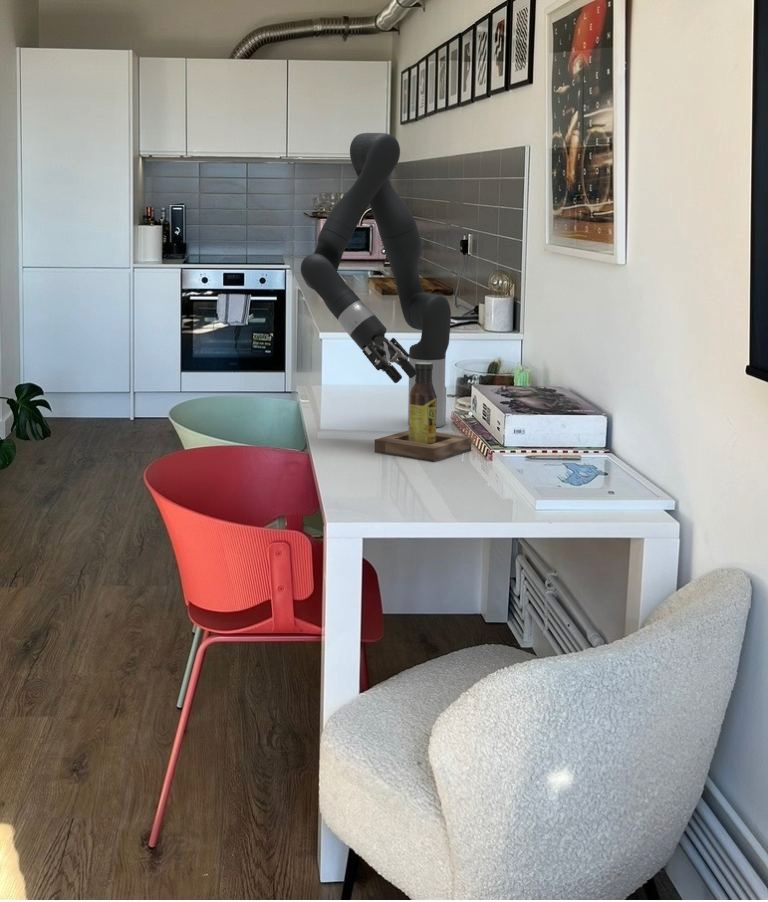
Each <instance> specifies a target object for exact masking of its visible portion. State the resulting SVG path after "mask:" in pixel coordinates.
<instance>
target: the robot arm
mask: <svg viewBox="0 0 768 902" xmlns="http://www.w3.org/2000/svg"><path fill="white" fill-rule="evenodd" d="M398 141H399V140H397V139H396V137H395V136H393V135H391V134H389V133H386V132H384V133H383V132H362V133H359V134H357V135H356V136H354V138H353V139H352V140H351V143H350V146H349V157H350V160H351V161H350V162H351V164H352V168H353V169H354V171H355V173H356V176H357V179H356V180H355V182H354V183H353V185H351V187H350V188H349V189H348V190H347V192H346V193H345V194H344V195H343V196H342V197H341V198H340V199H339V200H338V202H336V203H335V205H334V206H333V208H332V209H331V210H330V212H329V214H328V215H327V217H326V219H325V221H324V224H323V226H322V228H321V230H320V231H319V234H318V237H317V244H316V248H315V250H314V252H313V253H312V254H310V253H309V254H308V255H307V256H305V257H304V259H303V260H302V261H301V264H300V274H301V276H302V278H303V281H304V282H305V284H306V285H307V287H308V288H310V289H312V290H314V291H315V292H316V293H317V294H318V295H319V297H320V298H321V299H322V301H323V302H324V304H325V306H326V307H327V309H328V310H329V311H330V313H331V314H332V315H333V316H334V317H335V318H336V319H337V321H338V322H339V323H340V325H341V327H342V328H343V330H344V331H345V332H346V333H347V335H348V336H349V337H350V338H351V340H352V341H354V343H355V345H357V347H358V348H359V349H360V350H361V352H362V353H363V355H364V356H365V358H366V359H368V361H369V363H371V365H372V366H373V367H374V368H375V369H376V371H382V372H384V373H385V374H386V375H387V376H388V377H389V379H390V380H391V381H392V382H393V383H394V384H397V383H399V382H400V381H401V380H402V378H403V376H402V374H401V373H400V372H399V371H398V370H397V369H396V367H395V366H394V365H393V364H392V363H395V364H396V365H398V366H399V367H400V368H401V369H402V371H403V372H404V373H405V374H406V376H407V377H408V394H407V395H408V397H407V399H408V400H407V401H408V402H407V405H408V406H407V424H408V426H409V403H410V391H411V389H412V387H413V386H414V384H415V383H416V382H415V378H416V370H415V363H417V362H430V363H433V369H432V384H433V387H434V390H435V393H436V396H437V416H436V428H440V427H443V426H444V425H445V424H446V418H447V417H446V415H447V387H446V360H447V359H446V357H447V354H446V353H447V350H448V348H449V345H450V336H451V335H450V334H451V333H450V332H451V325H452V324H451V323H452V322H451V321H452V312H451V311H452V310H451V304H450V302H449V301H448V299H447V298H446V297H445V296H443V295H441V294H435V293H434V294H433V293H426V292H425V289H424V287H423V284H422V282H421V278H420V274H419V265H420V264H419V263H420V259H421V254H422V248H423V247H422V244H423V243H422V239H421V235H420V232H419V228H418V226H417V225H418V224H417V222H416V220H415V217H414V214H413V213H412V212H411V210H410V209H409V207H408V205H406V203H405V202H404V201H403V200H402V198H401V196H400V195H399V194H398V193H397V191H396V190H395V189H394V187H393V185H392V183H391V182H390V181H391V180H390V178H389V177H390V175H391V174H392V173H393V172H394V170H395V168H396V166H397V164H398V162H399V160H400V155H401V147H400V144H399V142H398ZM369 207H370V209H371V212H372V213H371V214H372V215H373V218H374V221H375V223H376V227H377V230H378V235H379V237H380V240H381V243H382V246H383V249H384V251H385V254H386V256H387V259H388V262H389V266H390V269H391V272H392V276H393V279H394V282H395V286H396V290H397V294H398V298H399V303H400V307H401V311H402V315H403V319H404V320H405V322H406V324H407V325H408V326H409V327H410V328H412V329H415V330H419V331H421V335H420V340H419V341H418V342H417V343H414V344H411V346H410V347H409V351H406V349H405V348H404V347H403V346H402V345H401V344H400V343H399V342H398V340H397V339H396V338H394V337H392V338H390V340H389V339H388V338H387V337H386V336H385V335H386V334H387V331H388V329H387V327H386V326H385V325H384V324H383V323H382V321H381V320H380V319H379V318H378V317H377V315H376V314H375V313H374V312H373V310H371V308H370V307H368V305H366V304H365V303H364V302H363V301H362V300H361V299H360V298H359V296H358V295H357V294H356V293H355V292H354V290H353V289H352V288H350V286H349V285H348V284H347V283H346V282H345V281H344V279H343V278H342V276H341V275H340V274H339V272H338V270H339V267H340V264H341V260H342V258H343V255H344V252H345V250H346V249H347V246H348V245H349V243H350V241H351V239H352V236H353V235H354V233H355V231H356V229H357V226H358V224H359V223H360V221H361V219H362V218H363V216H364V214H365V212H366V211H367V209H368V208H369Z"/></svg>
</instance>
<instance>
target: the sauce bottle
mask: <svg viewBox="0 0 768 902" xmlns="http://www.w3.org/2000/svg"><path fill="white" fill-rule="evenodd" d="M432 369H433V363H430V362H417V363H415V370H416V378H415V382H416V383H415V384H414V386H413V387H412V389H411V391H410V403H409V425H408V430H409V441H412V442H419V443H426V444H434V443H435V442H436V432H437V427H436V416H437V396H436V393H435V390H434V387H433V384H432Z"/></svg>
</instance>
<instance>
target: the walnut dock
mask: <svg viewBox="0 0 768 902" xmlns="http://www.w3.org/2000/svg"><path fill="white" fill-rule="evenodd" d="M472 438H473V437H472V436H465V435H458V434H452V433H444V432H438V431H436V442H435V443H434V444H426V443H419V442H412V441H409V429H408V430H405V431H401V432H397V433H393V434H389V435H386V436H383V437H379V438H376V439H374V448H373V449H374V453H376V454H383V455H387V456H394V457H402V458H406V459H413V460H419V461H424V462H425V461H426V462H432V463H435V462H438V461H441V460H444V459H447V458H450V457H454V456H457V455H460V454H463V453H466V452H469V451H472V440H473V439H472Z"/></svg>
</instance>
